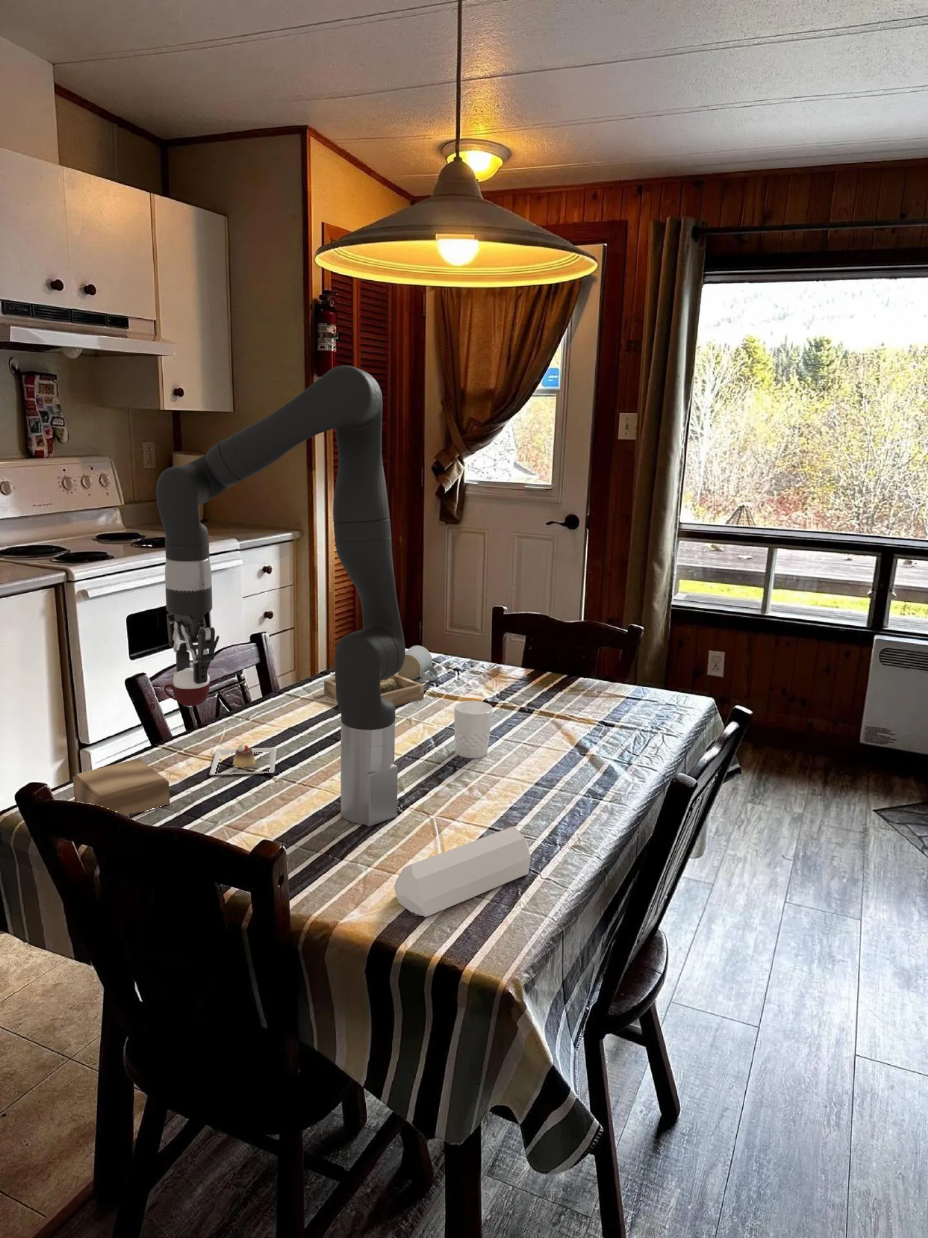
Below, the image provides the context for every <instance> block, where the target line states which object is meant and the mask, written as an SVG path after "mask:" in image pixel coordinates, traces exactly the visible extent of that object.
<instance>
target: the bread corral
mask: <svg viewBox="0 0 928 1238" xmlns="http://www.w3.org/2000/svg"><path fill="white" fill-rule="evenodd" d="M388 679H393V680H394V681H395V683H396V688H397V690H394V691H390V692H386V693H382V694H381V698H384V699H387V700H389V701H391V702H392V703H393V704H394V706H395V707H398V706H400V705H405V704H408V703H412V702H415V701H420V700H424V698H425V697H424V695H425V685H424V684H422V683H420V682H417V681H414V680H413V679H412V680H410V679H407V678H405V677H402V676H400V675H399V674H398V673H397V674H395V675H393V676H391V677H389V678H387V679H384V681H385V680H388ZM323 695H326V696H327V697H329V698H331V699H334V700H336V685H335V677H333V678H329V679H328V678H327V679H325V680H323Z"/></svg>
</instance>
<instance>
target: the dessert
mask: <svg viewBox="0 0 928 1238" xmlns="http://www.w3.org/2000/svg"><path fill="white" fill-rule="evenodd" d="M277 749H278V748H277V747H256V748H255V747H254V748H253V747H252V748H250V747H249V745H246V744H245V742H243V743H241V744H240V745H238V747H237V748H227V749H216V750H215V752H214V756H213V760H212V764H211V768H210V770H209V776H214V775H218V776H234V775H233V774H244V775H265V774H264V773H270V774H274V773H275V770H276V769H275V767H276V766H275V765H276V758H277ZM254 752H255V753H254ZM256 752H257V753H256ZM258 752H271V753H269V756H270V757H271V758H270V762H269V761H268V766H269V765H270V766H269V768H270V769H269V772H268V771H254V772H253V771H252V772H251V771H249V772H229V773H224V772H223V773H217V774H215V772H216V768H217V765H218V761H219V759H220V758H219V757H220V756H221V754H223V755H234V756H233V757H234V758H233V761H232V766H233V765H235V766H237V767H236V768H238V767H248V768H250V767H249V766H251V765H254V764H255V763H256V764H257V761H256V758H255V755H254V754H259V753H258ZM229 753H231V754H229ZM233 753H235V754H233ZM270 754H271V755H270ZM269 763H270V764H269ZM256 764H255V765H256ZM255 765H254V766H255ZM235 766H234V767H235ZM251 767H252V766H251Z"/></svg>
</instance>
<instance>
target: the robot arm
mask: <svg viewBox="0 0 928 1238" xmlns="http://www.w3.org/2000/svg"><path fill="white" fill-rule="evenodd" d="M333 429H334V432H335V438H336V446H337V454H338V456H337V457H338V460H337V461H338V464H337V465H338V466H337V473H336V480H335V481H336V482H335V487H334V493H333V503H332V522H333V531H334V532H333V533H334V543H335V544H334V545H335V550H336V555H337V557H338V559H339V560H340V563H341V566H342V567H343V568H344V570H345V571H346V574H347V575H348V577H349V578H350V580H351V582H352V584H353V585H354V588H355V589H356V591H357V593H358V598H359V601H360V605H361V614H362V615H361V616H362V629H359V630H356V631H352V632H350V633H347V634H345V635H343V636H342V637H341V638H340V640H339V641H338V643H337V645H336V648H335V653H334V678H335V685H336V699H335V701H336V703H337V707H338V709H339V713H340V815H341V817H343V819H344V820H346V821H348V822H351V823H354V824H360V825H365V826H367V827H372V826H374V825H377V824H380V823H383V822H385V821H387V820H391V819H393V818H396V817H397V816H398V779H399V778H398V777H399V776H398V772H399V771H398V770H399V768H398V765H396V764H395V755H396V754H395V752H396V751H395V750H396V747H395V746H396V744H395V741H396V738H395V737H396V706H394V704H393V703H392V702H391V701H389V700H387V699H384V698H381V692H380V681H382V680H384V679H387V678H389V677H391V676H393V675H395V674H397V675H398V674H399V673H398V672H399V671H400V670H401V668H402V666H403V664H404V661H405V652H406V644H405V643H406V642H405V637H404V631H403V626H402V621H401V614H400V610H399V604H398V598H397V590H396V580H395V572H394V571H395V570H394V561H393V549H392V548H393V547H392V546H393V545H392V530H391V529H392V527H391V519H390V517H391V516H390V509H389V501H388V500H389V499H388V491H387V484H386V483H387V482H386V477H385V471H384V470H385V469H384V465H383V463H384V462H383V454H382V453H383V452H382V450H383V448H382V446H383V445H382V443H383V442H382V441H383V439H382V437H383V435H382V433H383V432H382V431H383V393H382V390H381V387H380V385H379V383H378V381H377V380H376V379H375V378H374V377H373V375H371V374H370V373H368V372H366V371H365V370H363V369H361V368H357V367H355V366H352V365H339V366H334V367H333V368H331V369H329V370H328V371H326V373H324V374H323V375H322V376H321V377H319V378H318V379H317V380H316V381H314V382H313V383H312V384H310V385H309V386H308V387H307V388H306V389H305V390H303V391H302V392H301V393H300V394H299V395H297V396H296V397H294V398H293V399H291V400H290V401H289V402H287V403H286V404H284V405H283V406H281V407H280V408H279V409H277V410H275V411H273V412H272V413H269V414H268V415H267V416H265V417H264V418H261V419H260V420H257V421H256V422H253V423H252V424H250V425H248V426H247V427H245V428H243V429H241V430H239V431H238V432H235V433H234V434H232V435H230V436H228V437H227V438H224V439H223V440H221V441H219V442H218V443H216V444H214V445H213V446H212V447H210V448H209V449H208V451H207V453H205V454H204V455H202V456H200V457H199V458H197V459H195V460H193V461H192V460H191V461H190V462H188V463H186V464H183V465H181V464H180V465H175V466H171V467H168V468H166V469H164V470H163V471H162V472H161V473H160V474H159V477H158V478H157V480H156V484H155V485H156V486H155V498H156V505H157V510H158V513H159V517H160V521H161V523H162V524H161V525H162V528H163V531H164V534H165V535H164V542H165V543H164V546H165V547H164V548H165V565H164V567H165V568H164V585H165V586H164V587H165V608H166V611H167V612H168V613H166V625H167V635H168V636H167V637H168V638H167V639H168V645H169V647H173V652H174V653H175V663H176V664H175V665H176V673H177V672H179V671H182V670H184V669H185V668H191V662H190V661H191V659H190V657H191V658H192V661H193V663H192V664H193V665H192V668H193V673H194V682H195V683H196V684H201V683H206V682H207V680H208V675H209V674H208V675H207V673H208V670H207V662H208V661H211V662H212V661H215V651H214V647H215V640H216V630H215V627H212V626H211V627H207V624H206V620H205V618H206V617H205V616H206V614H207V613H209V612H211V611H212V610H213V586H212V585H213V583H212V567H211V561H210V536H209V530H208V527H207V526H206V525H205V524H203V523H202V522H201V517H200V511H199V510H200V509H199V506H201V505H204V504H205V503H207V502H209V501H211V500H212V499H214V498H216V497H217V496H219V495H221V494H222V493H223V492H224V491H227V489H229V488H230V487H231V486H233V485H237V484H239V483H241V482H243V481H245V480H246V479H249V478H251V477H252V476H255V474H258V473H259V472H261V471H264V470H265V469H266V468H268V467H270V466H271V465H273V464H274V463H276V462H277V461H278V460H279V459H282V458H283V456H284V455H285V454H287V453H289V452H290V451H291V450H292V449H294V448H295V447H297V446H298V445H300V444H301V443H303V442H305V441H307V440H309V439H311V438H313V437H315V436H317V435H319V434H321V433H325V432H328V431H330V430H333ZM190 653H191V654H190ZM190 655H191V656H190Z"/></svg>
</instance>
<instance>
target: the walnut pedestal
mask: <svg viewBox="0 0 928 1238" xmlns="http://www.w3.org/2000/svg"><path fill="white" fill-rule="evenodd" d="M72 784H73V798H74V797H75V799H74V801H75V802H76V801H79V802H84V803H91V804H94V805H98V806H103V807H104V808H109V809H110V810H113V811H117V812H119V813H121V814H124V815H125V816H128V818H130V816H129V814H130V813H135V812H142V811H146V810H150V809H152V808H157V807H160V806H164V805H168V804H170V805H171V798H170V781H169V780H167V779H166V778H165V777H163V776H162V775H161V774H160V773H158V772H157V771H156V770H154V769H153V768H152V767H151V766H150V765H148V764H147V763H146V762H144V761H143V760H142V759H140V758H134V759H129V760H125V761H122V762H119V763H115V764H110V765H107V766H106V765H105V766H103V767H99V768H96V769H90V770H87V771H83V772H78V773H76V775H75V776H72ZM168 806H169V805H168ZM164 807H165V806H164Z"/></svg>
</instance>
